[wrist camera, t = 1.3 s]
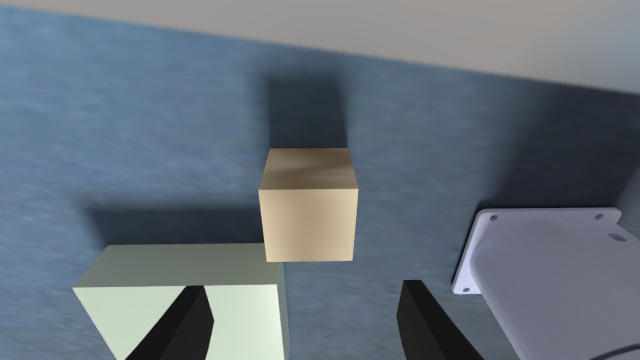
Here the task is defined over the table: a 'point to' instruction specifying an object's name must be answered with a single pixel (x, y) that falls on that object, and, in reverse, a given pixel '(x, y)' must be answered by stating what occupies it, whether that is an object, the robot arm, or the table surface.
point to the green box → (172, 277)
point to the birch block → (308, 204)
